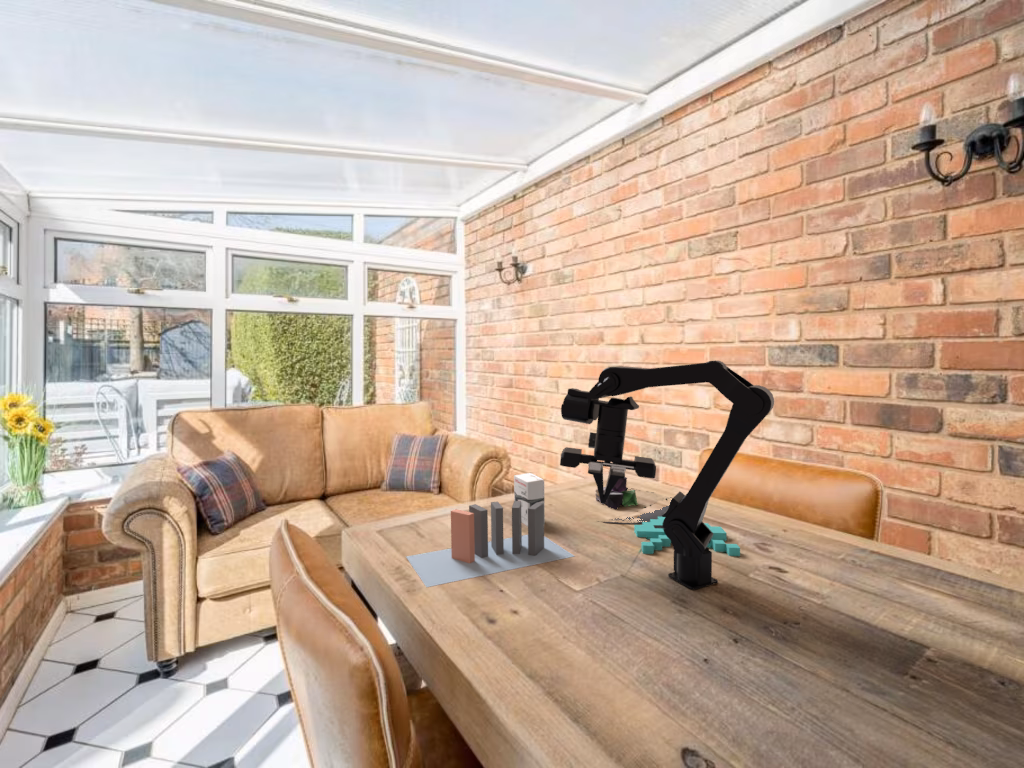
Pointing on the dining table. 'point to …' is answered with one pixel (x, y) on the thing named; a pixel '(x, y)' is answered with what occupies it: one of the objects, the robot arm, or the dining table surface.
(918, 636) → the dining table surface
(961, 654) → the dining table surface
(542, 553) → the mat
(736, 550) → the alien figure
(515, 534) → the domino
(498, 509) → the domino
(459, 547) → the domino
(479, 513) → the domino
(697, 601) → the dining table surface
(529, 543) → the domino
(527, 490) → the ink box
